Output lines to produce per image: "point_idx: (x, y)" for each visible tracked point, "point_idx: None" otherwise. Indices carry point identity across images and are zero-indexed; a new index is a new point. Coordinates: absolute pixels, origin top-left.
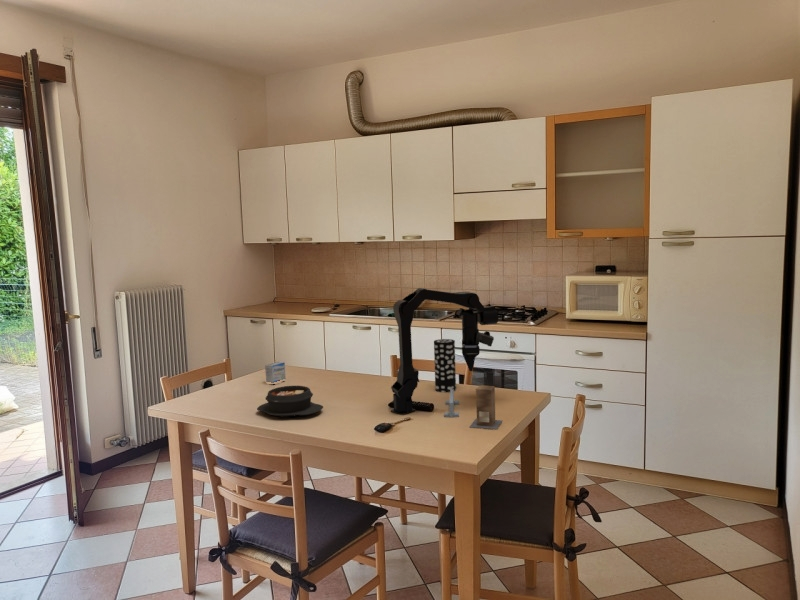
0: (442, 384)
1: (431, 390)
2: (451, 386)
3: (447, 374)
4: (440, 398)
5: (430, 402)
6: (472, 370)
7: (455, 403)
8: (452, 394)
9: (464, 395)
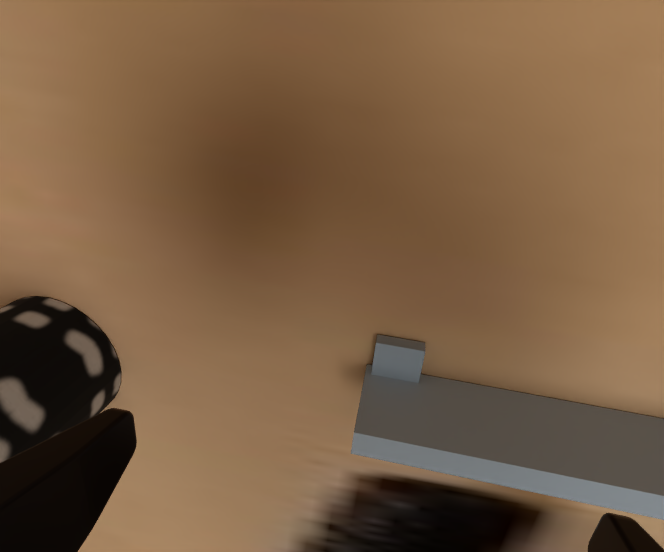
0: (84, 419)
1: None
2: (76, 352)
3: (13, 444)
4: (257, 418)
5: (341, 480)
6: (637, 528)
7: (421, 369)
8: (527, 474)
9: (187, 266)
